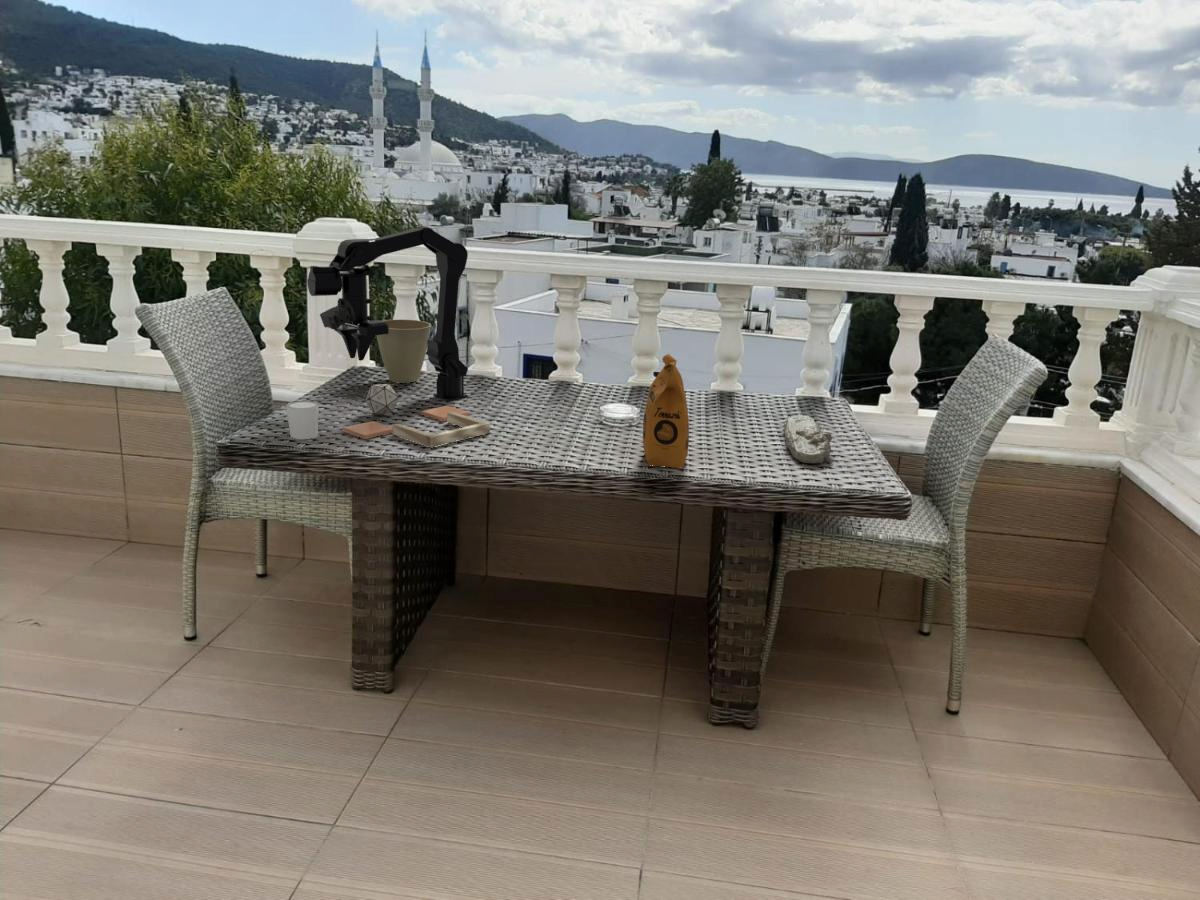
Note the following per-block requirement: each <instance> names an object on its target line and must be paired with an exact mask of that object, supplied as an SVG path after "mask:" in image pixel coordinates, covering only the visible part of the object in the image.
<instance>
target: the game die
mask: <svg viewBox="0 0 1200 900" xmlns="http://www.w3.org/2000/svg"><path fill="white" fill-rule="evenodd" d="M391 383H392V382H391V381H390V380H389V381H388V383H379V384H372V383H371V382H370V381H369V382H368V385H369V389H368V391H367V395H366V397H365V399H364V400H362V401H361V402H362V403H365V404H366V405H367V407H369V409H370V410H371V412H372V413H373V414H372V418H374V417H376V415H385V414H392V416H394V415H395V416H396V413H395V412H394V411H395V408H396V406H397V403H398V401H399V399H400V398H402V397H403V396H402V395H399V394H397V392H396V391H395V390H394V388H393V386H392V385H391Z"/></svg>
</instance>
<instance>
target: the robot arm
mask: <svg viewBox="0 0 1200 900" xmlns="http://www.w3.org/2000/svg"><path fill="white" fill-rule="evenodd" d="M422 245H423V246H424V247H426V249H428V250H429V251H430V252H432V253H433V254H435V262H436V267H437V271H438V273H439V277H440V278H439V279H440V280H439V292H438V305H437V320H436V330H435V331H436V332H435V335H434V336H433V338H432V339H430V338H429V339H428V340H427V345H428V346H427V351H426V355H427V360H428V361H429V363H430V364H431V365H432V366H433V367H434V370H435V371H436V372H437V380H436V393H434V394H433V397H435V398H439V399H443V400H445V401H454V400H458V399H459V400H460V399H463V398H468V397H469V396H468V394H465V392H464V391H465V390H464V389H465V384H464V382H465V381H464V380H465V379H464V378H465V377H466V376H467V374H468V371H469V368H468V367H467V366H466V365H465V364H464V363H463V362H462V361H461V360H460V351H459V345H458V342H457V339H456V335H455V334H456V322H457V311H458V298H459V296H458V295H459V285H460V278H461V277H462V276H463V273H464V271H465V269H466V265H467V261H468V256H469V252H468V249H467V248H466V247H465V246H464V245H463V244H461V243H459V242H454V241H451V240H450V239H448V238H446V237H444V236H443V235H442V234H440V233H438V232H437V231H435V230H434V229H433V228H432V227H429V226H424V225H423V226H422V225H420V226H417V227H416V228H412V229H407V230H404V231H400V232H397V233H396V232H395V233H392V234H391V233H390V234H388V235H384V236H383V235H382V236H379V237H376V238H353V239H345V240H343V241H341V242H340V243H339V245H338V246H337V247H338V248H337V253H336V254H335V256H334V258H333V259H332V260H331V262H330V263H329V264H328V266H317V265H311V266H309V272H308V277H307V288H308V289H307V290H308V293H309V295H310V296H312V297H320V296H321V297H323V296H338V293H341V298H338V300H337V305H336V306H333V307H331V308H329V309H327V310H325V311H323V312H321V313H320V314H319V316H320V318H321V322H322V324H323V326H324V328H328V329H329V328H330V329H331V330H333V331H334V332H336V333H338V334H339V335H340V336H341V337H342V339H343V342H344V344H345V347H346V350H347V353H348V356H349V358H350V359H355V358H356V356H357V357H358V361H364V360H365V357H366V355H367V353H368V351H369V348H370V347H371V345H372V344H373V343H372V342H373V341H374V339H375V337H377V335H383V334H389V325H388V324H387V323H386V322H383V321H384V320H378V319H375V320H373V319H372V315H369V314H368V313H369V311H368V305H369V304H372V299H371V298H368V281H367V280H368V279H367V276H376V272H375V271H374V270H372V268H371V267H370V265H368V264H369V263H372V262H374V261H375V260H377V259H378V258H380V257H381V256H383V255H387V254H391V253H395V252H400V251H404V250H406V249H411V248H415V247H418V246H422ZM356 354H357V355H356ZM426 355H425V356H426Z"/></svg>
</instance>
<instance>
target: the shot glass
mask: <svg viewBox="0 0 1200 900" xmlns="http://www.w3.org/2000/svg"><path fill="white" fill-rule="evenodd" d="M285 409H286V415H287V422H288V428H289V435H290V438H292V437H293V438H292V439H294V438H299V439H298V440H311V439H310V438H312V439H314V437H315V438H316V436H317V437H318V432H319V431H318V429H319V428H318V427H319V414H320V413H319V412H320V411H319V410H320V404H319V403H317V402H315V401H306V400H305V401H294V402H290V403H287V404H286V405H285Z"/></svg>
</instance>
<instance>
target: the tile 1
mask: <svg viewBox="0 0 1200 900" xmlns="http://www.w3.org/2000/svg"><path fill="white" fill-rule="evenodd" d="M342 429H343V433H345V434H349V435H351V436H353V437H357V438H359V437H360V439H362V440H365V439H366V440H369V438H370V439H373V437H374V438H377V437H376V436H379V437H381V436H380V435H383V436H386V435H385V434H388V435H390V434H389V433H392V432H394V429H393V427H391V426H388V425H387V424H386V425H385V424H382V423H379V422H377V421H368V422H363V423H358V424H353V425H349V426H344V427H343V428H342ZM392 434H393V433H392Z"/></svg>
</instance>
